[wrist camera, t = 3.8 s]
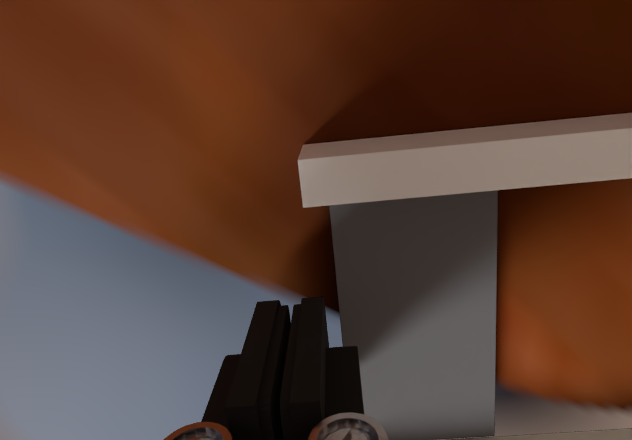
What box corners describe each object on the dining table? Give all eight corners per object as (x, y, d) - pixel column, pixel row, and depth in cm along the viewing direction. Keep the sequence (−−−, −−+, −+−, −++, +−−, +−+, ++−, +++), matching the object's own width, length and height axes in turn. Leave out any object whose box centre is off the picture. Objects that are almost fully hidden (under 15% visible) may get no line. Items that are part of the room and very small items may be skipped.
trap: (492, 183, 12) (497, 188, 11) (489, 426, 14) (494, 435, 13) (329, 199, 12) (329, 203, 11) (351, 434, 14) (352, 444, 14)
